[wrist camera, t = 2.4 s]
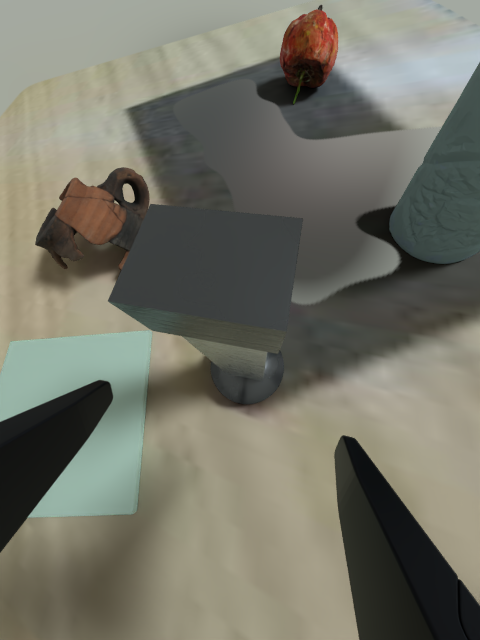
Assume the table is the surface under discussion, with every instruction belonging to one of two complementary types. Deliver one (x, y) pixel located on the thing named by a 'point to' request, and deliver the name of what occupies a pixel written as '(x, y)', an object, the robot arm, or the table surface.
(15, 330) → the table surface
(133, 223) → the pottery mug
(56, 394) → the rest mat
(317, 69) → the red ribbed fruit
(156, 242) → the square pillar on disc
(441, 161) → the green cup
